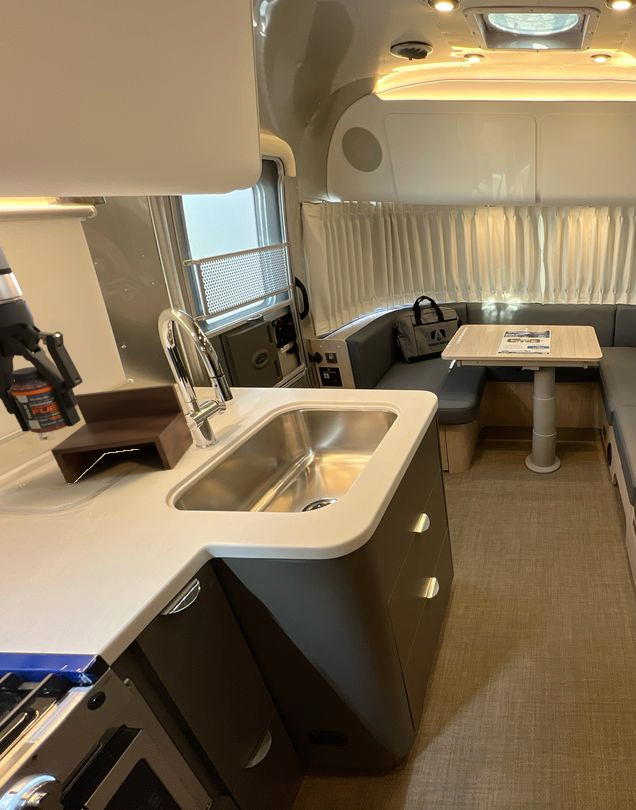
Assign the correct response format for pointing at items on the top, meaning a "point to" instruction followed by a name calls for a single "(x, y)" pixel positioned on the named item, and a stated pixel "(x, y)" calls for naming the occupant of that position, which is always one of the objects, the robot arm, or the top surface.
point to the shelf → (125, 428)
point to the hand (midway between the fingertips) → (52, 425)
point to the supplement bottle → (36, 401)
